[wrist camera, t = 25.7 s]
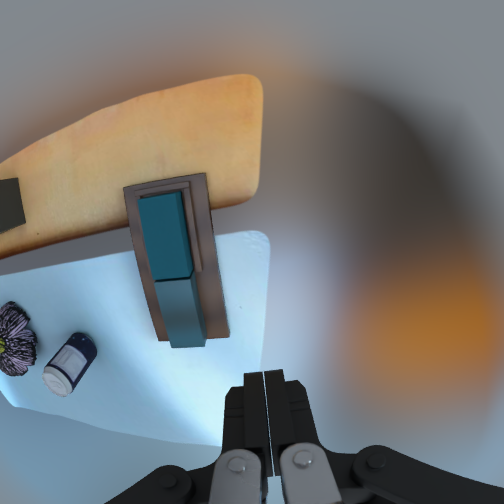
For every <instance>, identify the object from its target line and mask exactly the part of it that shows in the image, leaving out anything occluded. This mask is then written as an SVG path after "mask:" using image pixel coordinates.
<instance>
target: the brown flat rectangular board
mask: <svg viewBox="0 0 504 504" xmlns="http://www.w3.org/2000/svg"><path fill="white" fill-rule="evenodd" d="M123 190H124V197H125V203H126V209H127V215H128V221H129V226H130V231H131V236H132V241H133V246H134V251H135V256H136V260H137V264H138V269H139V273H140V277H141V281H142V285H143V289H144V293H145V297H146V300H147V304H148V307H149V311H150V314H151V318H152V321H153V325H154V328H155V331H156V334H157V338H158V341H170V344H171V348H188V347H205V343H206V339H215V338H228V337H230V331H229V326H228V320H227V314H226V308H225V302H224V296H223V290H222V284H221V278H220V271H219V265H218V258H217V252H216V245H215V238H214V232H213V225H212V217H211V210H210V202H209V195H208V187H207V179H206V173H200V174H194V175H187V176H181V177H175V178H169V179H164V180H158V181H153V182H148V183H142V184H137V185H133V186H128V187H124V188H123ZM178 191H181V192H182V198H183V205H184V212H185V219H186V225H187V231H188V237H189V243H190V249H191V255H192V260H193V266H194V268H193V270H192V272H191V274H190V276H189V277H179V278H169V279H159V280H153V278H152V274H151V270H150V265H149V261H148V256H147V251H146V247H145V242H144V236H143V231H142V226H141V220H140V215H139V209H138V203H137V200H138V199H141V198H145V197H149V196H155V195H160V194H166V193H172V192H178Z"/></svg>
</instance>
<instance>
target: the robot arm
mask: <svg viewBox="0 0 504 504" xmlns="http://www.w3.org/2000/svg"><path fill="white" fill-rule="evenodd" d="M264 376H265V387H266V396H265V388H264V380H263V373H262V372H252V373H244V386H239V387H231V389H230V390H229V392H228V393H227V395H226V396H225V410H224V425H223V441H222V451H221V454H220V456H219V457H218V459H217V460H216V461H215V462H214V463H212V464H210V465H208V466H206V467H203V468H199V469H194V470H190V471H185V470H184V469H183V468H181V467H178V466H174V465H166V466H161V467H159V468H157V469H155V470H154V471H153V472H151V473H150V474H148V475H147V476H146V477H144V478H143V479H141V480H140V481H138V482H137V483H135V484H134V485H133V486H131V487H130V488H128V489H127V490H125V491H124V492H122V493H121V494H119V495H117V496H116V497H114V498H113V499H111V500H110V501H108V502H106V503H104V504H267V493H268V482H267V481H268V480H267V477H272V476H273V469H272V459H271V449H272V456H273V464H274V472H275V476H281V483H282V492H283V498H284V502H285V504H504V488H502V487H497V486H493V485H489V484H485V483H482V482H478V481H474V480H472V479H468V478H465V477H462V476H459V475H456V474H453V473H450V472H447V471H444V470H441V469H439V468H436V467H433V466H430V465H428V464H426V463H423V462H420V461H418V460H415V459H413V458H411V457H408V456H406V455H404V454H401V453H399V452H397V451H394V450H392V449H390V448H388V447H385V446H381V445H373V446H369V447H366V448H364V449H362V450H361V451H359V452H358V453H357V454H345V453H335V452H331V451H329V450H327V449H326V448H324V447H323V446H322V445H321V443H320V442H319V439H318V436H317V432H316V428H315V424H314V420H313V416H312V412H311V409H310V404H309V401H308V396H307V392H306V389H305V387H304V386H303V385H302V384H301V383H300V382H299V381H298V380H294V381H286V382H285V379H284V374H283V369H279V370H271V371H264ZM266 397H267V405H266ZM267 408H268V415H267ZM268 418H269V426H268ZM269 428H270V437H269ZM270 439H271V447H270Z"/></svg>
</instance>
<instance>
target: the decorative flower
mask: <svg viewBox="0 0 504 504" xmlns="http://www.w3.org/2000/svg"><path fill="white" fill-rule="evenodd" d="M14 303H15V302H12V301H10V302H8V303H6V304H5V305H3V306H2V307H1V309H0V370H1V371H2V372H4V373H5V374H7V375H9V376H19V375H20V376H22V375H24V374H25V373H26V372H27V371H28V368H27V366H32V365H35V360H36V359H37V358H36V355H37V354H36V350H35V349H36V348H35V346H36V343H38V342H37V337H36V334H35V333H34V332H33V331H31V330H29V329H24V328H25V326H27V324H28V322H29V320H30V318H28V317H27V316H26V313H25V312H23V311H22V309H21V310H20V309H19V308H18V307H15V304H14Z"/></svg>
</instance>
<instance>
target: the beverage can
mask: <svg viewBox="0 0 504 504" xmlns="http://www.w3.org/2000/svg"><path fill="white" fill-rule="evenodd" d="M96 355H97V349H96V347H95V344H94V342H93V341H92V339H91V338H90V337H88V336H87V335H84V334H81V333H74V334H73V335H72V336H71V337H70V338H69V339H68V340H67V342H66V343H65V344H64V345H63V346H62V347H61V348H60V350H59V351H58V352H57V353H56V354H55V355H54V357H53V358H52V359H51V360H50V361H49V362H48V364H47V365H46V366H45V367H44V372H43V374H42V379H43V382H44V384H45V385H46V386H47V388H48V389H49V390H50V391H52V392H53V393H54V394H56V395H58V396H60V397H66V396H67V395H68V394H70V393H72V392H73V390H74V389H75V387H76V385H77V384H78V382H79V381H80V379H81V378H82V376H83V375H84V373H85V372H86V370H87V369H88V367H89V366H90V364H91V363H92V362H93V360H94V359H95V357H96Z"/></svg>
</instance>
